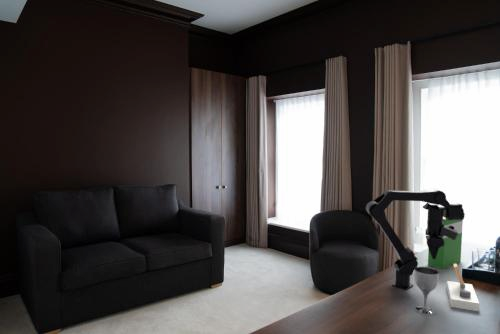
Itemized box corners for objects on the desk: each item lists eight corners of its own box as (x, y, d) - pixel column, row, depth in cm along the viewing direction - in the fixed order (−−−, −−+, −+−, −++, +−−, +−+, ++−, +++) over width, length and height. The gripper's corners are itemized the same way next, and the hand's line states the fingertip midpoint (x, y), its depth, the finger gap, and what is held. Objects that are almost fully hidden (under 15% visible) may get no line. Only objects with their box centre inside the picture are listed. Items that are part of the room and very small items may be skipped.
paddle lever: (461, 288, 148) (453, 267, 148) (460, 284, 152) (452, 263, 152) (465, 288, 147) (458, 266, 148) (464, 284, 151) (457, 263, 152)
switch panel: (450, 306, 139) (451, 299, 139) (446, 287, 156) (447, 280, 156) (479, 311, 135) (479, 303, 135) (471, 291, 153) (471, 284, 153)
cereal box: (445, 257, 195) (447, 212, 193) (460, 261, 189) (462, 214, 187) (427, 264, 185) (429, 216, 183) (442, 269, 179) (445, 219, 177)
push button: (460, 296, 140) (460, 292, 140) (459, 292, 144) (459, 289, 144) (471, 298, 139) (471, 294, 139) (469, 294, 142) (470, 290, 142)
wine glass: (427, 317, 131) (429, 275, 129) (408, 308, 138) (409, 268, 136) (442, 312, 134) (444, 272, 133) (422, 303, 141) (424, 265, 140)
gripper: (459, 226, 143) (458, 266, 145) (454, 217, 160) (453, 252, 162) (427, 224, 148) (426, 262, 149) (426, 214, 165) (424, 249, 166)
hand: (433, 256), depth 156 cm, fingers open, 6 cm apart
